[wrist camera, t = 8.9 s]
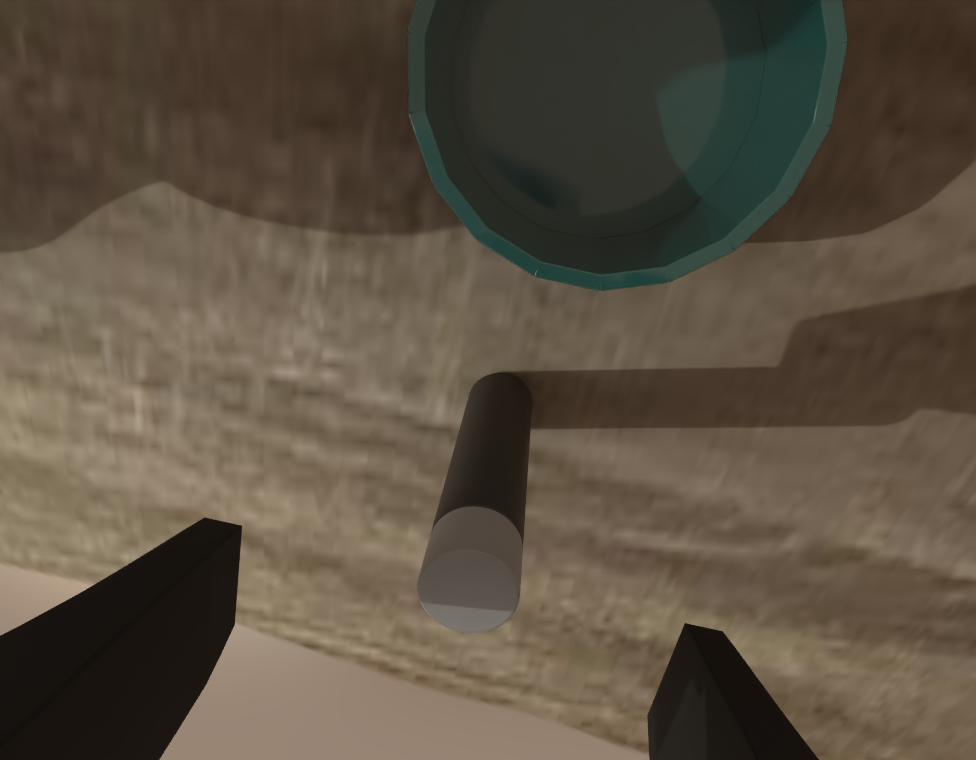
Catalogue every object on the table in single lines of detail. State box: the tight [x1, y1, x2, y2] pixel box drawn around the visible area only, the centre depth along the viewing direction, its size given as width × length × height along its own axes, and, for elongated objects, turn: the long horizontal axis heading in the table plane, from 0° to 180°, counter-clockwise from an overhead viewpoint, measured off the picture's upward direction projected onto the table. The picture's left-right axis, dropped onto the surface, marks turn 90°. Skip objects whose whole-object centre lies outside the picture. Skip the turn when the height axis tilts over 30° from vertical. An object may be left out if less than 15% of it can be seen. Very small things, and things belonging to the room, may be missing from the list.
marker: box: [417, 373, 532, 633], centre depth 16 cm, size 2×2×8 cm
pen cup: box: [407, 0, 848, 291], centre depth 14 cm, size 8×8×4 cm
